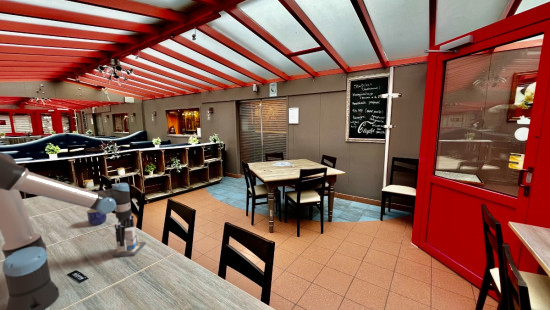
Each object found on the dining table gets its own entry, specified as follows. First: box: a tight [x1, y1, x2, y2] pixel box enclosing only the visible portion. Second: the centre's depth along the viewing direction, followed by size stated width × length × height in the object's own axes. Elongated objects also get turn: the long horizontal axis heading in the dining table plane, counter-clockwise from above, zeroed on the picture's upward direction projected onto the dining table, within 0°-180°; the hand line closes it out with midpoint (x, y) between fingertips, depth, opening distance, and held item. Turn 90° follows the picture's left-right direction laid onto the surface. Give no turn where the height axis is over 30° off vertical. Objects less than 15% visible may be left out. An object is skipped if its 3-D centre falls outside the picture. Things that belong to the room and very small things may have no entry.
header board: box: [112, 234, 147, 258], centre depth 129 cm, size 12×12×8 cm
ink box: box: [115, 226, 137, 251], centre depth 126 cm, size 9×5×12 cm, turn 104°
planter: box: [86, 208, 108, 226], centre depth 163 cm, size 11×11×11 cm
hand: (127, 247), depth 127 cm, fingers closed on ink box, 6 cm apart
